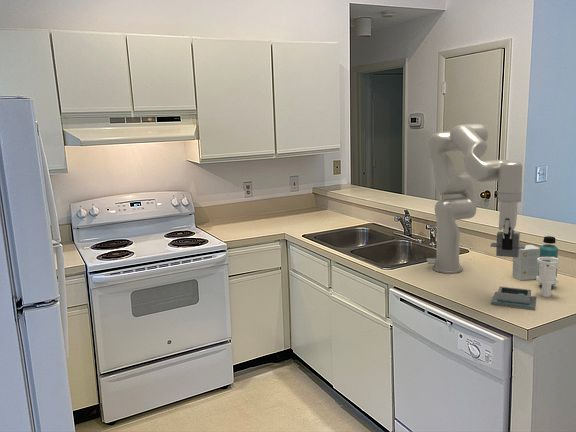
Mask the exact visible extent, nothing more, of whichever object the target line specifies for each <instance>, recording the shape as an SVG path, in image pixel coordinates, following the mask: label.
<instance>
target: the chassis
mask: <svg viewBox="0 0 576 432" xmlns="http://www.w3.org/2000/svg"><path fill="white" fill-rule="evenodd" d="M491 304H493V306H498V305H501V306H500V307H506V306H507V308H514V307H515V309H521V308H522V309H521V310H523V309H524V310H528V311H529V310H531V311H535V310H536V304H537V296H534V295H533V296H532V289H528V288H527V289H525V288H518V287H510V286H509V287H508V286H499V287H498V290H497V291H494V294H493V297H492V299H491V303H490V305H491Z"/></svg>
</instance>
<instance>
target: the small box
mask: <svg viewBox="0 0 576 432" xmlns="http://www.w3.org/2000/svg"><path fill="white" fill-rule="evenodd" d="M525 245H526V246H525V249H519V256H518V258H517V257H512V272H511V273H512V274H511V275H512V277H514V278H515V279H517V280H519V281H529V280H530V281H531V280H536V277H537V276H538V272H539V263H538V262H537V258H539V257H540V255H539V254H540V247H538V246H537V245H534V244H525Z"/></svg>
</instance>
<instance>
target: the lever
mask: <svg viewBox="0 0 576 432" xmlns="http://www.w3.org/2000/svg"><path fill="white" fill-rule="evenodd" d="M520 237H521V235H520V232H519V231H518V230H515V229H514V230H513V231H512V239H513V240H512V250H503V249H502V238H503V231H498V232H497V233H496V242H491V243H490V248H496V253H495V254H496V257H508V258H513V257H517V258H518V256H519V249H525V246H526V245H527V244H520Z"/></svg>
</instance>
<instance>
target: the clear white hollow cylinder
mask: <svg viewBox="0 0 576 432" xmlns="http://www.w3.org/2000/svg"><path fill="white" fill-rule="evenodd" d="M541 260H551V262H545V261H541ZM554 261H555V262H554ZM537 262H538V263H540V265H539V276H537V277H536V279H535V280H536V282H537V283H538V284H539V283H542V284H541V292H540V293H541V296H542V297H544V298H549V297H551V295H552V286H551V284H556V285H557V284H559V279H558V277H557V278H556V269H555V268H557V269H559V264H560V258H555V257H539V258H537ZM541 264H542V265H541ZM547 264H548V265H549V267H547Z"/></svg>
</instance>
